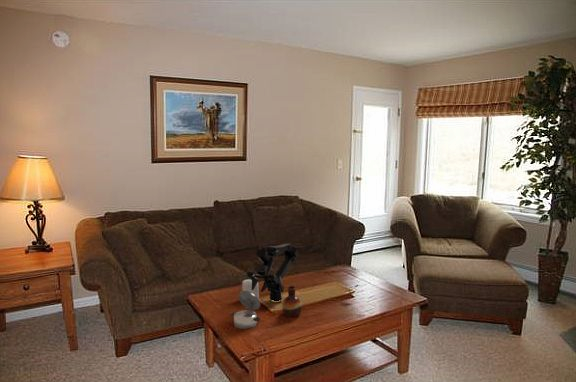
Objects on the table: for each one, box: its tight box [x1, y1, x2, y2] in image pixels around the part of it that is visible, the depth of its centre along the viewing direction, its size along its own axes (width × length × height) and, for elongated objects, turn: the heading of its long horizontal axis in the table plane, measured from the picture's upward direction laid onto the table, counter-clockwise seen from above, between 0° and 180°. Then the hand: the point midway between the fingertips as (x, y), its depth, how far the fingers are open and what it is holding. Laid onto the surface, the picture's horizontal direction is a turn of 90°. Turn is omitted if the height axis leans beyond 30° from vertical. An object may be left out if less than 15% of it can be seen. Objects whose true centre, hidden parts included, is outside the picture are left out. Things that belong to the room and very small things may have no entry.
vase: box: [281, 285, 303, 318], centre depth 218 cm, size 11×11×15 cm
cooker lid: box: [237, 290, 261, 311], centre depth 212 cm, size 13×13×2 cm
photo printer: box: [241, 279, 260, 300], centre depth 240 cm, size 10×4×12 cm, turn 72°
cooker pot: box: [230, 309, 261, 330], centre depth 209 cm, size 12×17×5 cm
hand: (256, 291), depth 218 cm, fingers open, 6 cm apart
